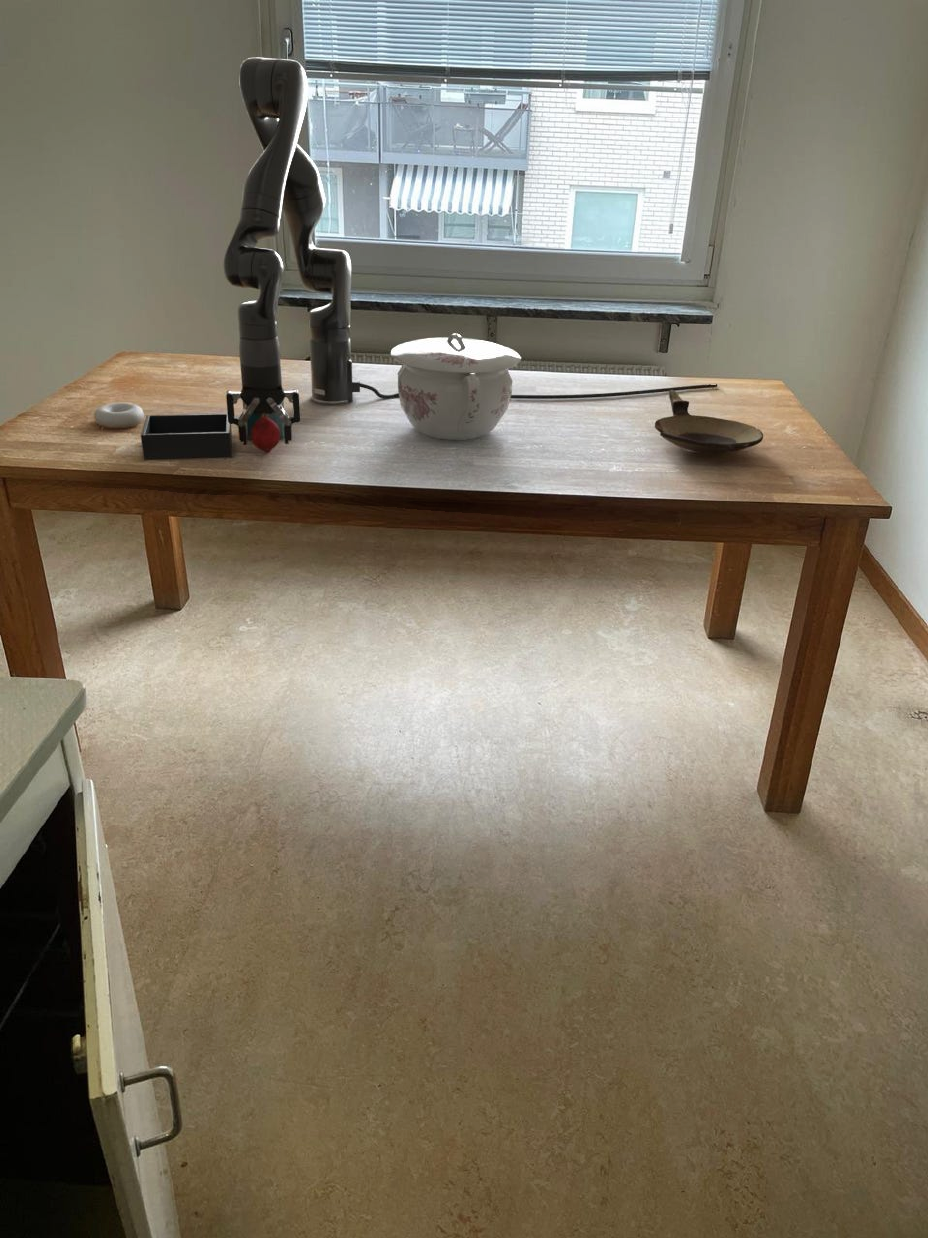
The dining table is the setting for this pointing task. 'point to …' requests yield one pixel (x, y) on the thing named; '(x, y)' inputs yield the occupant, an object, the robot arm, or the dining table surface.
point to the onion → (265, 433)
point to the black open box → (186, 436)
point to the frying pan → (705, 430)
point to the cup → (255, 417)
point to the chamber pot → (454, 385)
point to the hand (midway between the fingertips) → (266, 443)
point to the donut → (119, 415)
